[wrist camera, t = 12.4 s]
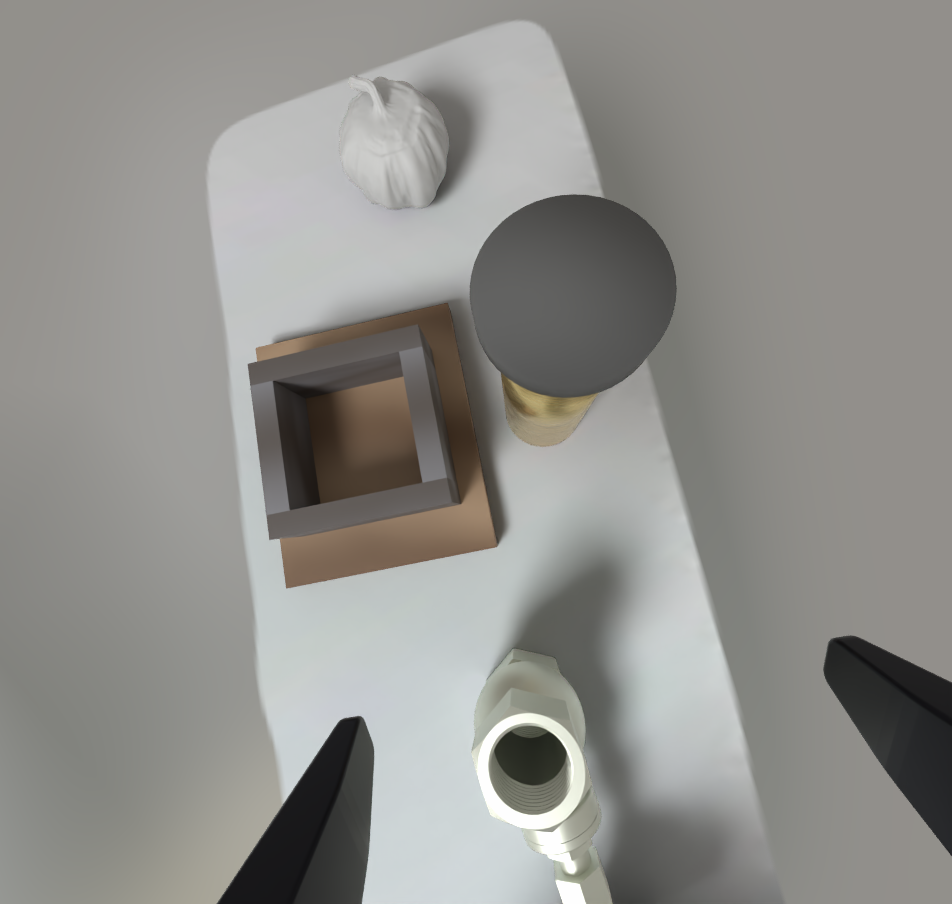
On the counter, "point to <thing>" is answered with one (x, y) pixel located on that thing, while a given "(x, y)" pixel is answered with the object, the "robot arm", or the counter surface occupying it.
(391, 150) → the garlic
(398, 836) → the counter surface
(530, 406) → the grey-topped tan cylinder
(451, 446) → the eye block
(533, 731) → the valve
